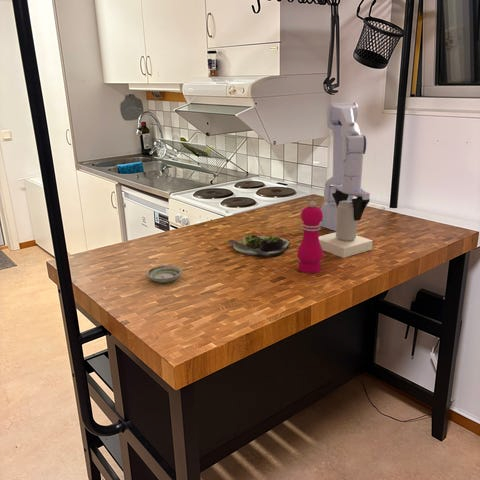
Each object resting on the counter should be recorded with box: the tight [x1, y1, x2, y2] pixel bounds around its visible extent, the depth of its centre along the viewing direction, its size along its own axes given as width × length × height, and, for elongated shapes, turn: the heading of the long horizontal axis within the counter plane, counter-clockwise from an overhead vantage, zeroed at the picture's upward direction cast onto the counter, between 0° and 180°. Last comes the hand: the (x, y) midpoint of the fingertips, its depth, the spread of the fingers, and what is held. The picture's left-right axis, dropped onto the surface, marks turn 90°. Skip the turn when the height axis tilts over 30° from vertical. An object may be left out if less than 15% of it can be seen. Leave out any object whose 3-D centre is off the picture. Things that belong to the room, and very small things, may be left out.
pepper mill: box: [296, 200, 324, 274], centre depth 132 cm, size 7×7×20 cm
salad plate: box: [227, 234, 291, 258], centre depth 153 cm, size 19×18×5 cm
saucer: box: [145, 265, 183, 284], centre depth 129 cm, size 10×10×2 cm
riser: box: [318, 231, 373, 259], centre depth 152 cm, size 13×13×3 cm
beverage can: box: [335, 201, 358, 241], centre depth 150 cm, size 6×6×12 cm
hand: (349, 217), depth 151 cm, fingers open, 7 cm apart
